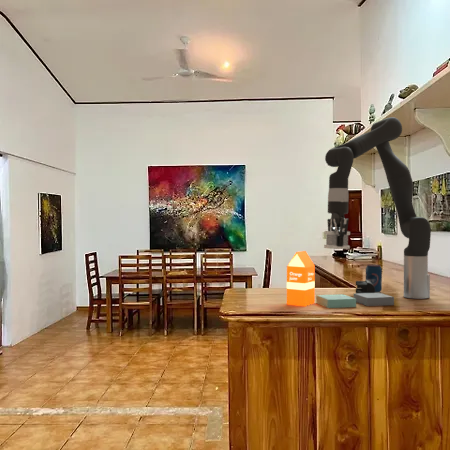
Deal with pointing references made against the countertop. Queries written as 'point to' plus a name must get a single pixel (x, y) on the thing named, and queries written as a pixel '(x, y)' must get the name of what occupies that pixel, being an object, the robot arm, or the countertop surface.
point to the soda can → (374, 276)
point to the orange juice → (300, 280)
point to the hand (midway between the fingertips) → (336, 245)
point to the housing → (335, 240)
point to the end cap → (365, 287)
